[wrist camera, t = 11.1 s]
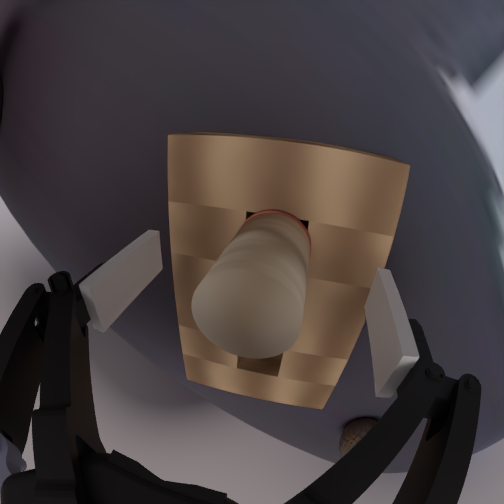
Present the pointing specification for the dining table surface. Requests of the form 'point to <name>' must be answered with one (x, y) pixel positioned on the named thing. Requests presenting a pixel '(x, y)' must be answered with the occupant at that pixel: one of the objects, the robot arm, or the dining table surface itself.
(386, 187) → the oak board
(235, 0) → the dining table surface
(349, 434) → the vase
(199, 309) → the beech peg
